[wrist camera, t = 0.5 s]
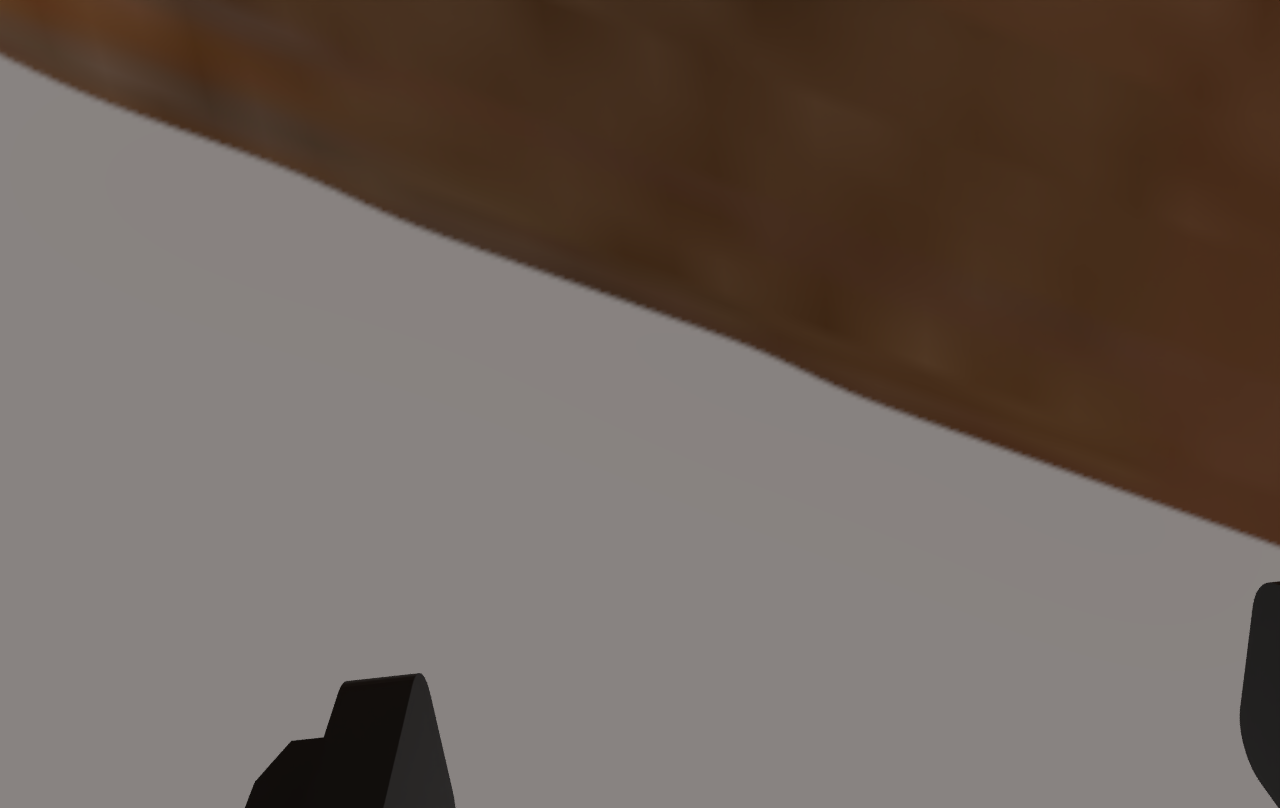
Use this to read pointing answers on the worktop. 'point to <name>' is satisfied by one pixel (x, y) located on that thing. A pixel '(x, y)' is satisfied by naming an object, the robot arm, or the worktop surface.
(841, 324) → the worktop surface
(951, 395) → the worktop surface
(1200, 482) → the worktop surface
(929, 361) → the worktop surface
